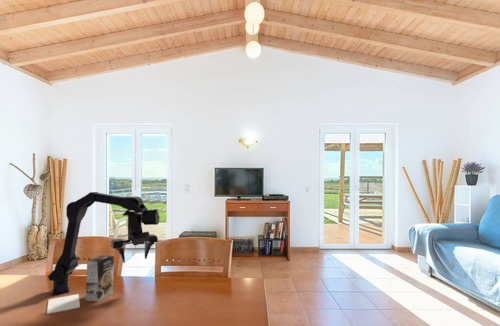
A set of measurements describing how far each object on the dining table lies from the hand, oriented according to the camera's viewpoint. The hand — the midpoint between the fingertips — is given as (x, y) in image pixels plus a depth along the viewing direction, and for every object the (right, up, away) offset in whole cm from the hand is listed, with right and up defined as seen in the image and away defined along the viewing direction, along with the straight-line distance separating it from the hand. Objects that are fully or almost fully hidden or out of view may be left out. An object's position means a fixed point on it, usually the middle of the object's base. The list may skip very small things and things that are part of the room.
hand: (135, 260), depth 128 cm
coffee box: (-12, -13, -7) cm, 19 cm away
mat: (-23, -13, -13) cm, 29 cm away
